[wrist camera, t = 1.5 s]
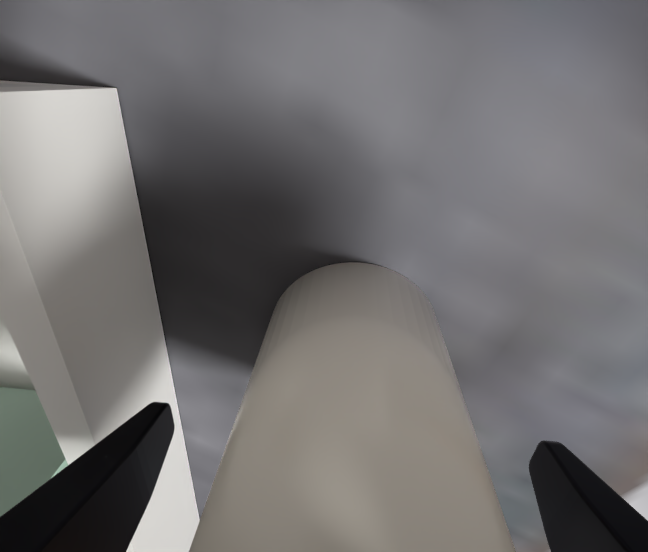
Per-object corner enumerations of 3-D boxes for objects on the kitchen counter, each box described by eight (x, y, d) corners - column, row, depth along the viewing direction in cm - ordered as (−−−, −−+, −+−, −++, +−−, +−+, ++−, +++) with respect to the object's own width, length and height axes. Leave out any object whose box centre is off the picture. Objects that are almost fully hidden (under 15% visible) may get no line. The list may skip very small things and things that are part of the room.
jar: (424, 406, 13) (529, 903, 5) (268, 391, 14) (141, 843, 6) (461, 266, 11) (794, 853, 3) (264, 250, 11) (1, 741, 3)
